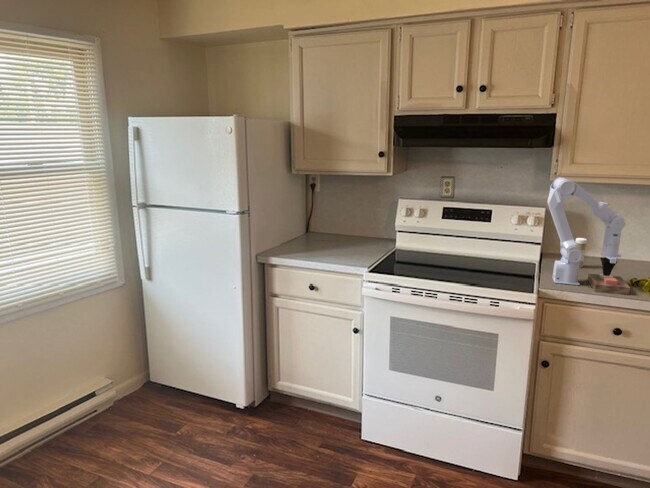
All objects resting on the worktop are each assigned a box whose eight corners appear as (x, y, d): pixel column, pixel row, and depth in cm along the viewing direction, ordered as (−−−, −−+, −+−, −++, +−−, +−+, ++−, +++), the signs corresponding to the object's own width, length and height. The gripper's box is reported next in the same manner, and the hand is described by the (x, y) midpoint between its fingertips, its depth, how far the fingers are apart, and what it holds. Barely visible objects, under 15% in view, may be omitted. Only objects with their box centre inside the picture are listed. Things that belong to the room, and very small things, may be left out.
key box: (594, 291, 193) (596, 284, 192) (587, 280, 206) (588, 273, 206) (629, 295, 189) (630, 287, 188) (619, 283, 203) (620, 276, 202)
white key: (601, 282, 200) (601, 276, 200) (598, 279, 204) (599, 273, 203) (611, 283, 199) (612, 277, 199) (609, 280, 203) (610, 274, 202)
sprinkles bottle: (573, 264, 229) (577, 237, 226) (584, 266, 226) (588, 238, 223) (570, 266, 226) (574, 238, 223) (581, 268, 223) (585, 240, 220)
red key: (605, 286, 193) (606, 280, 193) (603, 282, 197) (604, 277, 196) (616, 287, 192) (617, 281, 191) (614, 283, 196) (615, 278, 195)
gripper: (627, 248, 190) (621, 281, 193) (617, 240, 203) (612, 271, 206) (606, 247, 192) (601, 279, 195) (598, 239, 205) (594, 269, 209)
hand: (606, 275), depth 201 cm, fingers closed, pressing on white key
